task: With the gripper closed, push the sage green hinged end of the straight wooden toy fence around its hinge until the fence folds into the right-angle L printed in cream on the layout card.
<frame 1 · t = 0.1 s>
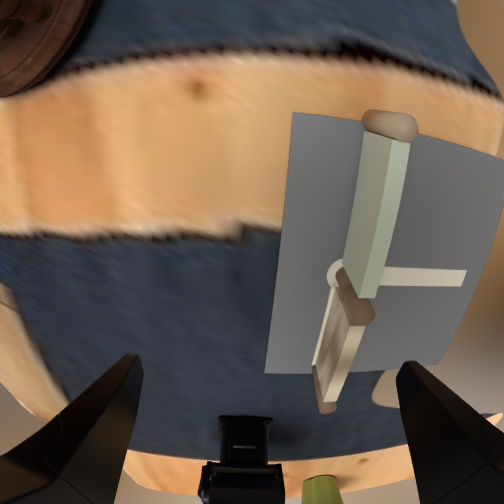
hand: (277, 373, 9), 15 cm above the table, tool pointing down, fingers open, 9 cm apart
fence fixed section: (343, 272, 25), resting on layout card
brown round-based upright piece: (32, 15, 14), on the table
layout card: (396, 275, 25), on the table
plant pot: (318, 479, 46), on the table
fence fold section: (375, 201, 19), point 3 cm above the table, hinge at 0.0°
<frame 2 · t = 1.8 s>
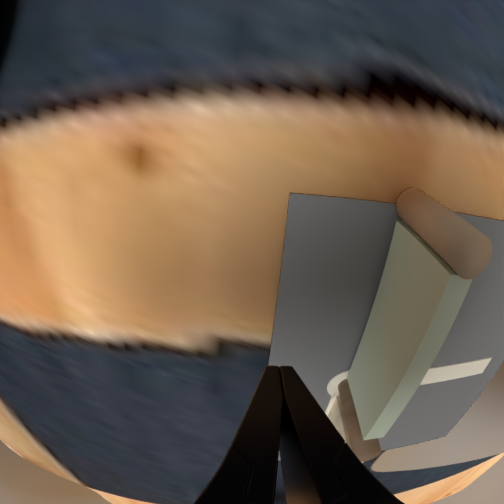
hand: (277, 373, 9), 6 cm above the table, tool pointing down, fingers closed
fence fixed section: (348, 381, 18), resting on layout card
layout card: (411, 375, 19), on the table
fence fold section: (402, 331, 13), point 3 cm above the table, hinge at 0.0°
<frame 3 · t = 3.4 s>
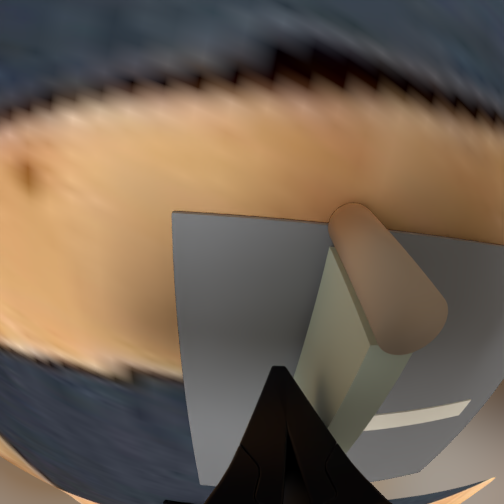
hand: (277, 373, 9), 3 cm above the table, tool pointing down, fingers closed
layout card: (366, 419, 16), on the table
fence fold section: (327, 391, 10), point 3 cm above the table, hinge at -2.0°, touching gripper
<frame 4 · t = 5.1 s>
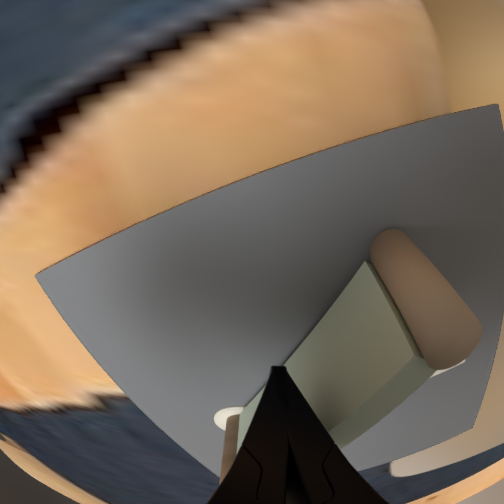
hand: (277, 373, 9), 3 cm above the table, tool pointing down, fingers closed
fence fixed section: (241, 417, 16), resting on layout card
layout card: (328, 398, 15), on the table
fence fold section: (321, 394, 10), point 3 cm above the table, hinge at -48.7°, touching gripper
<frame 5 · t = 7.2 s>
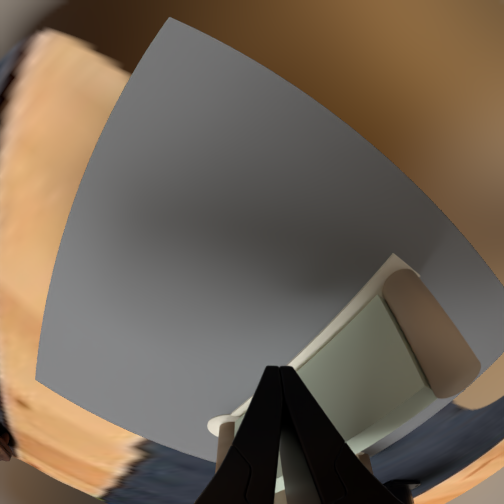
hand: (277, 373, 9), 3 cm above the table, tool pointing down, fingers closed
fence fixed section: (233, 424, 16), resting on layout card
layout card: (285, 381, 14), on the table
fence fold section: (325, 411, 11), point 3 cm above the table, hinge at -90.9°
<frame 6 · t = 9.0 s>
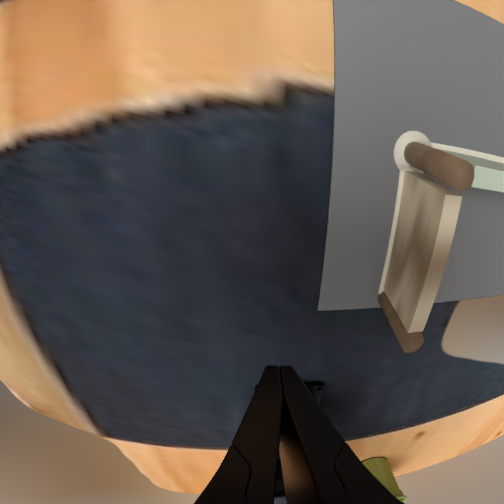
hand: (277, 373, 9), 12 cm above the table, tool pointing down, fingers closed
fence fixed section: (412, 152, 17), resting on layout card
layout card: (467, 161, 17), on the table
plant pot: (367, 463, 39), on the table
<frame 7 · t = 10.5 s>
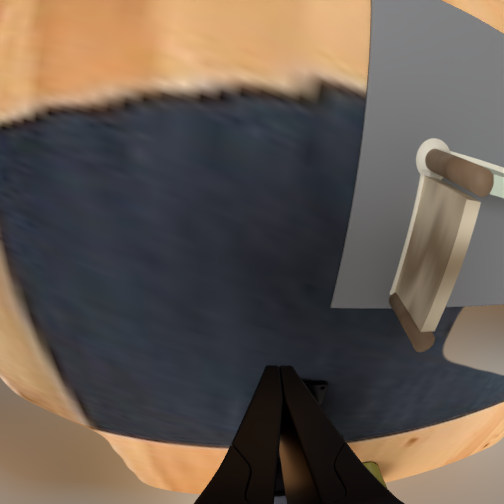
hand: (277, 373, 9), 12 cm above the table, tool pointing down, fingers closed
fence fixed section: (432, 159, 18), resting on layout card
layout card: (481, 172, 18), on the table
plant pot: (358, 468, 39), on the table
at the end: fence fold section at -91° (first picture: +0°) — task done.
